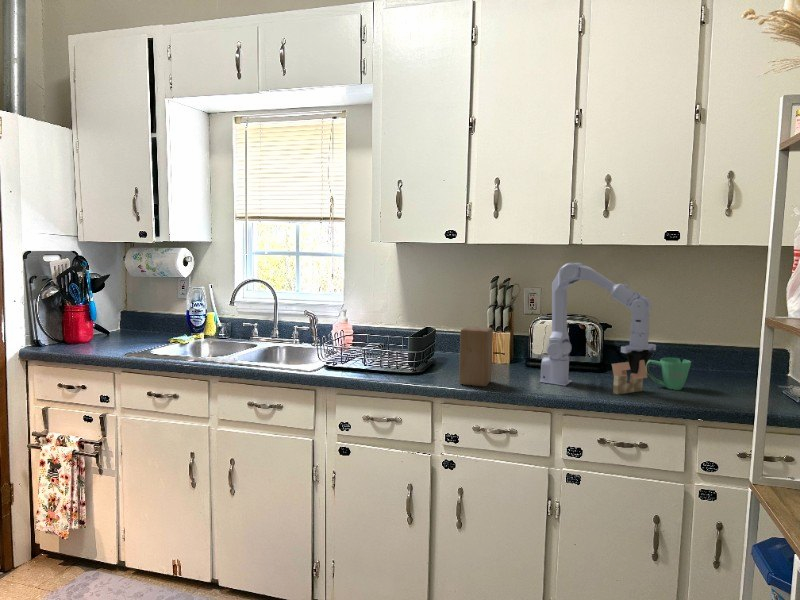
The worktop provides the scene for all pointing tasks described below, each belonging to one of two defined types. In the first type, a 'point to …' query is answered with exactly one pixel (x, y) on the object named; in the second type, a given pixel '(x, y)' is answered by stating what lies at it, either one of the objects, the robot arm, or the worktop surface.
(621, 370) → the tan flat notched board
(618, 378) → the tan notched block
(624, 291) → the robot arm
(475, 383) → the wooden block
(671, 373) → the mug
